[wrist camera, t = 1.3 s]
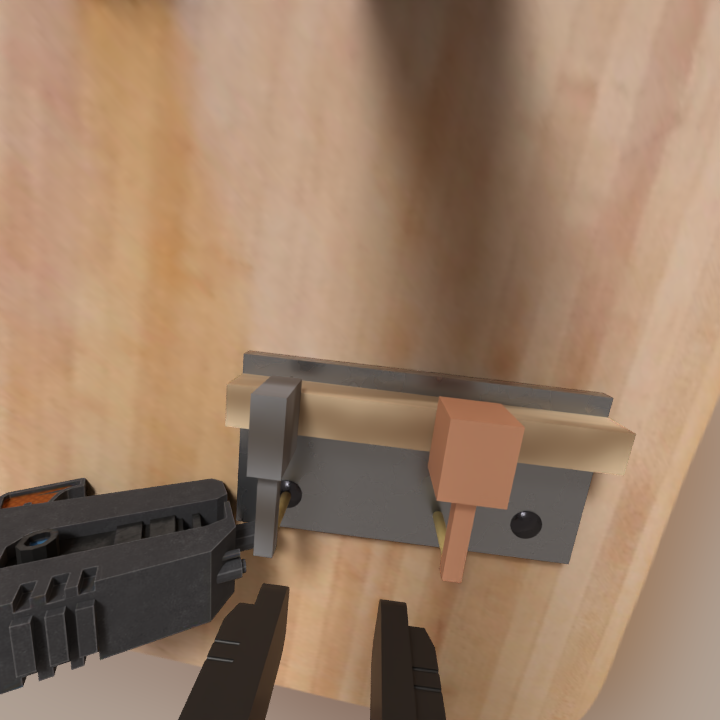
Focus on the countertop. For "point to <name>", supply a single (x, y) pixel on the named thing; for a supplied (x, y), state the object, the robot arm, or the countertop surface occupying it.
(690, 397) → the countertop surface
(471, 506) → the slider leg
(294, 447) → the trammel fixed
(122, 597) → the tool
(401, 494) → the hole plate
